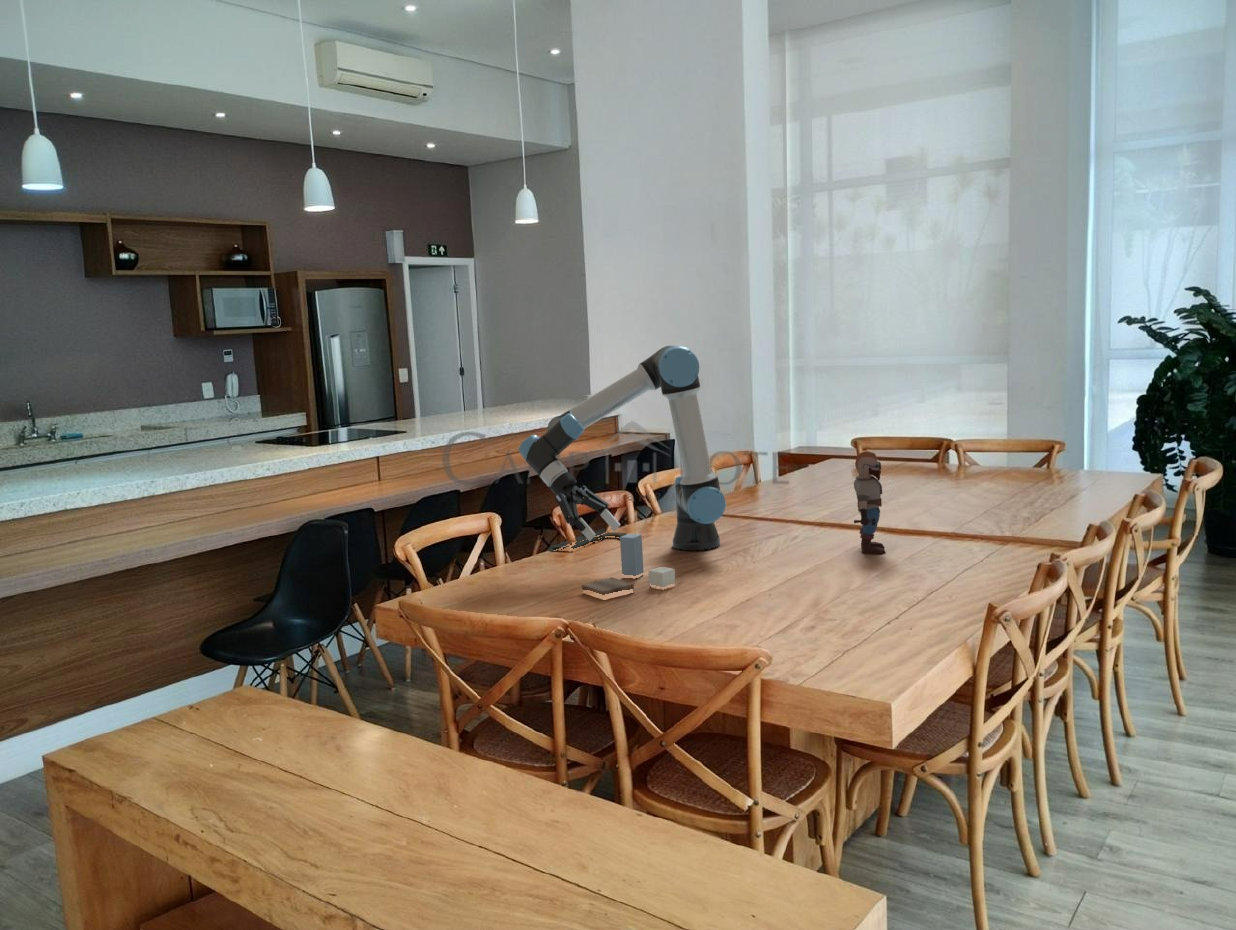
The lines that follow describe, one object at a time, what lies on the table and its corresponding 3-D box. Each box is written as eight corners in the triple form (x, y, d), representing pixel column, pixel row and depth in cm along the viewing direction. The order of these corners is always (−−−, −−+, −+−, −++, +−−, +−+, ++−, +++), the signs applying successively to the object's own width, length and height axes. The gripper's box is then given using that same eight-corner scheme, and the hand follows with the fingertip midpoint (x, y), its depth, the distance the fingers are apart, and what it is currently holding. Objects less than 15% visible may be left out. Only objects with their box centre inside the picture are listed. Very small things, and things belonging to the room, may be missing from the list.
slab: (612, 588, 273) (611, 577, 272) (634, 594, 264) (633, 584, 264) (582, 595, 267) (581, 584, 266) (603, 602, 259) (602, 591, 258)
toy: (887, 559, 284) (885, 456, 280) (854, 559, 286) (852, 457, 282) (882, 541, 306) (880, 446, 301) (852, 542, 307) (849, 447, 303)
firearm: (583, 549, 312) (546, 546, 321) (584, 556, 313) (547, 552, 321) (632, 530, 336) (596, 527, 344) (633, 537, 336) (597, 534, 344)
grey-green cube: (661, 584, 272) (661, 566, 271) (675, 586, 269) (674, 568, 268) (649, 588, 269) (648, 570, 268) (663, 591, 265) (662, 573, 264)
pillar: (630, 574, 284) (627, 533, 283) (643, 575, 282) (641, 534, 280) (622, 578, 281) (619, 537, 279) (636, 579, 278) (633, 538, 277)
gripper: (575, 481, 301) (620, 532, 296) (527, 495, 280) (574, 550, 274) (588, 464, 298) (634, 515, 292) (541, 477, 277) (589, 533, 271)
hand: (605, 532), depth 283 cm, fingers open, 13 cm apart
